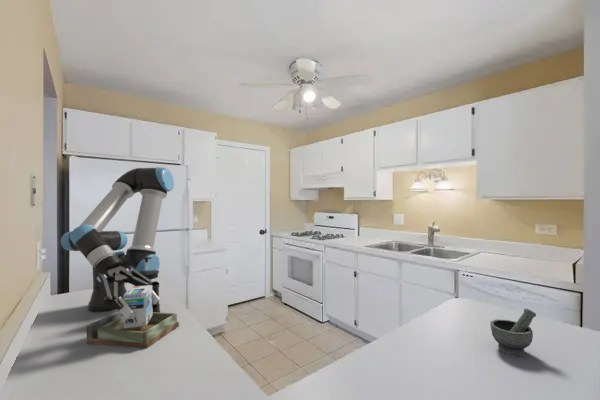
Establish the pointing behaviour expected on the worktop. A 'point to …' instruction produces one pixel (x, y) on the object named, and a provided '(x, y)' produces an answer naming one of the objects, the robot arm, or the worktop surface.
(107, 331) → the wooden drawer tray
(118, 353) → the worktop surface
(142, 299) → the light bulb box
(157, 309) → the french press
